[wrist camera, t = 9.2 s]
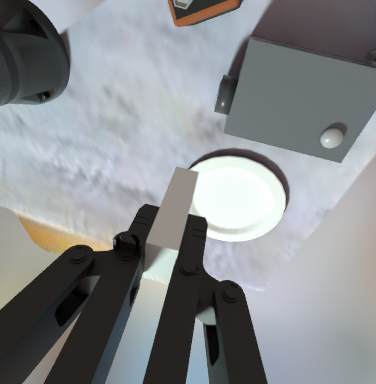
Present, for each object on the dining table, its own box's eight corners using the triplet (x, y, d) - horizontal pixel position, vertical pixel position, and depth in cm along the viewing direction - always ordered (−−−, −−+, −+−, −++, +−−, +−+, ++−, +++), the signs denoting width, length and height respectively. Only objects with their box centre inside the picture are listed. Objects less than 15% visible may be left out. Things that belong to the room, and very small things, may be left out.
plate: (302, 218, 47) (304, 224, 46) (212, 246, 57) (211, 252, 56) (254, 130, 39) (254, 134, 38) (158, 180, 49) (155, 185, 48)
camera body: (213, 113, 38) (207, 131, 32) (234, 31, 32) (231, 35, 26) (326, 141, 38) (342, 166, 31) (372, 64, 31) (403, 75, 25)
